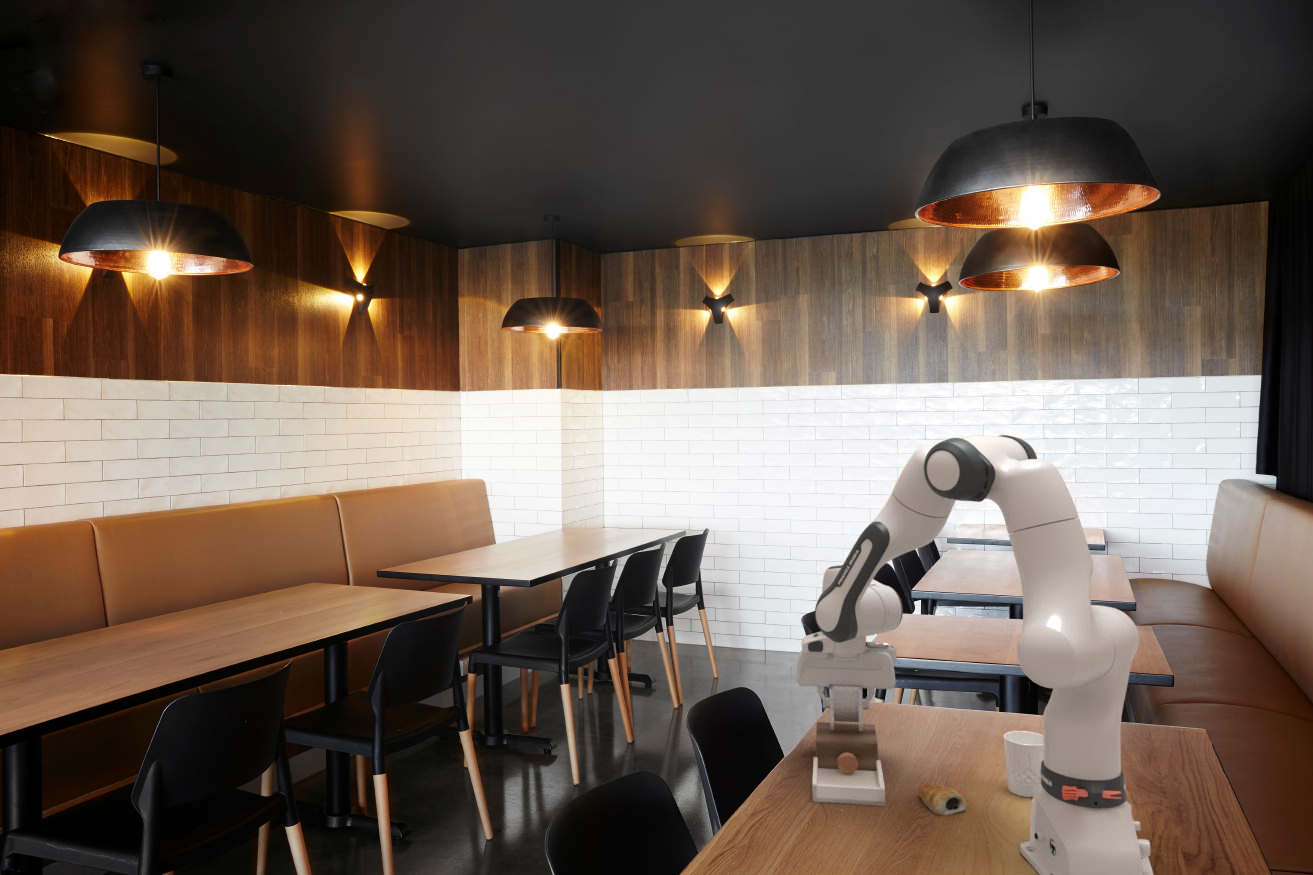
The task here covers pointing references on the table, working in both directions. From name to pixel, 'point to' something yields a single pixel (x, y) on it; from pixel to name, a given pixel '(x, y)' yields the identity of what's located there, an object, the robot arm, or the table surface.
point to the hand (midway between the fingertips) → (845, 707)
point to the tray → (848, 786)
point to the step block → (846, 745)
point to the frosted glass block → (846, 704)
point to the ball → (847, 763)
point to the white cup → (1023, 762)
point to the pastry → (942, 799)
